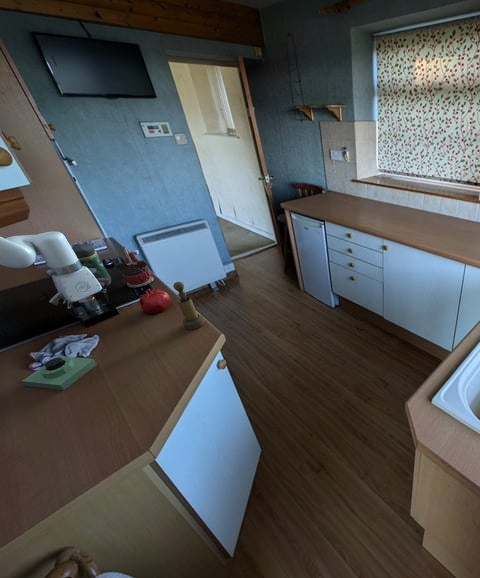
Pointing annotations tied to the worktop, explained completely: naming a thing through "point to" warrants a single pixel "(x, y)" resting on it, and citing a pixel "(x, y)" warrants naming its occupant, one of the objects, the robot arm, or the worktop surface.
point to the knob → (89, 304)
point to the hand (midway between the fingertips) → (91, 308)
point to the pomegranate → (154, 301)
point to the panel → (96, 314)
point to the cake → (135, 270)
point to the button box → (60, 374)
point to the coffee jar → (91, 261)
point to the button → (54, 363)
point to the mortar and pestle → (188, 309)
